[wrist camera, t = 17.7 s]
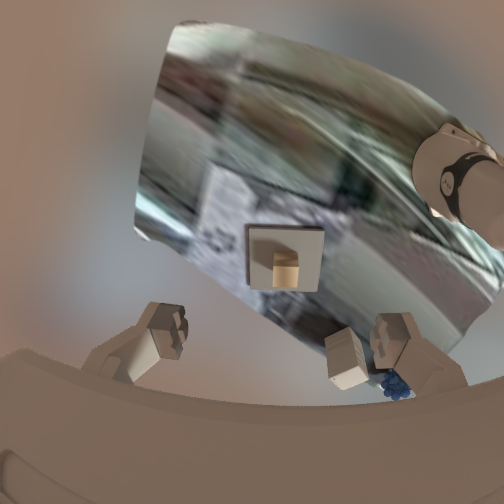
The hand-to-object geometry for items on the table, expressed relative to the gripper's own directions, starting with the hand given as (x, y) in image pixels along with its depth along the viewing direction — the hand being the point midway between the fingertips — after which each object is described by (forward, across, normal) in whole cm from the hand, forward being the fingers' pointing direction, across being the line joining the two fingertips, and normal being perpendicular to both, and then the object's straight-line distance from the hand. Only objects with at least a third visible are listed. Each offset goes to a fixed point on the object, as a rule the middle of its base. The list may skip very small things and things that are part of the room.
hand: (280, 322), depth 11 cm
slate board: (+39, -1, +21) cm, 44 cm away
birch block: (+38, -1, +21) cm, 43 cm away
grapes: (+39, -36, +57) cm, 78 cm away
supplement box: (+39, -17, +44) cm, 61 cm away
